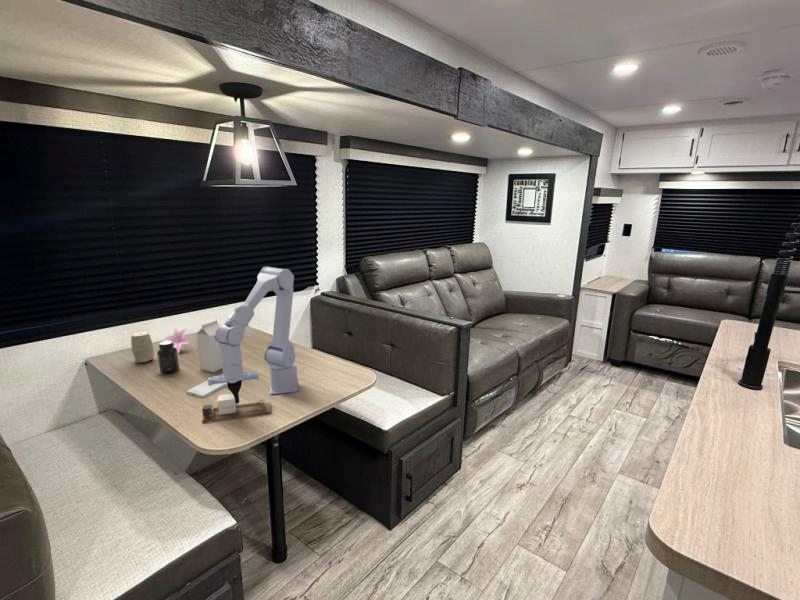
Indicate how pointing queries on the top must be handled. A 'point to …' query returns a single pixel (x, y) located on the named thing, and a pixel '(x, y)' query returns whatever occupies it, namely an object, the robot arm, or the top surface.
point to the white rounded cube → (226, 404)
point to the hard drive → (205, 389)
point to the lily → (178, 339)
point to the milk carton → (209, 348)
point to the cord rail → (242, 411)
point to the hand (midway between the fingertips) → (236, 402)
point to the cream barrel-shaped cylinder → (142, 347)
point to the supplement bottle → (168, 358)
